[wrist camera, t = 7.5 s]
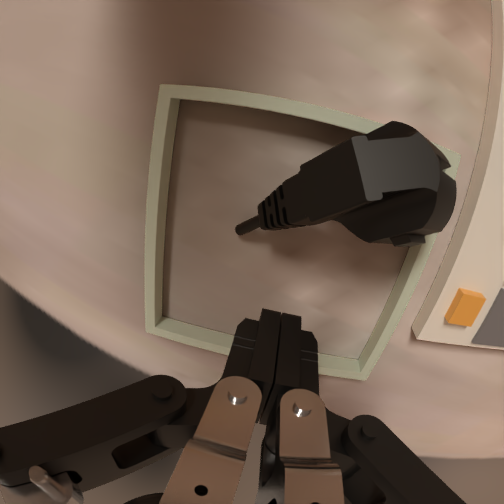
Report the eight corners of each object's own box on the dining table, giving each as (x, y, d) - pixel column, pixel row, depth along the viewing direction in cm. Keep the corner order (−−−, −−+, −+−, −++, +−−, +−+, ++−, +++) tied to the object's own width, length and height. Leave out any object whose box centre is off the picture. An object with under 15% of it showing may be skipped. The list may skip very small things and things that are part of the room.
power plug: (223, 185, 18) (389, 79, 9) (309, 198, 23) (451, 138, 13) (233, 276, 18) (437, 224, 8) (320, 270, 22) (478, 235, 12)
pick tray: (170, 86, 16) (160, 84, 14) (450, 152, 15) (461, 154, 13) (153, 320, 23) (145, 331, 22) (363, 367, 22) (365, 380, 21)
